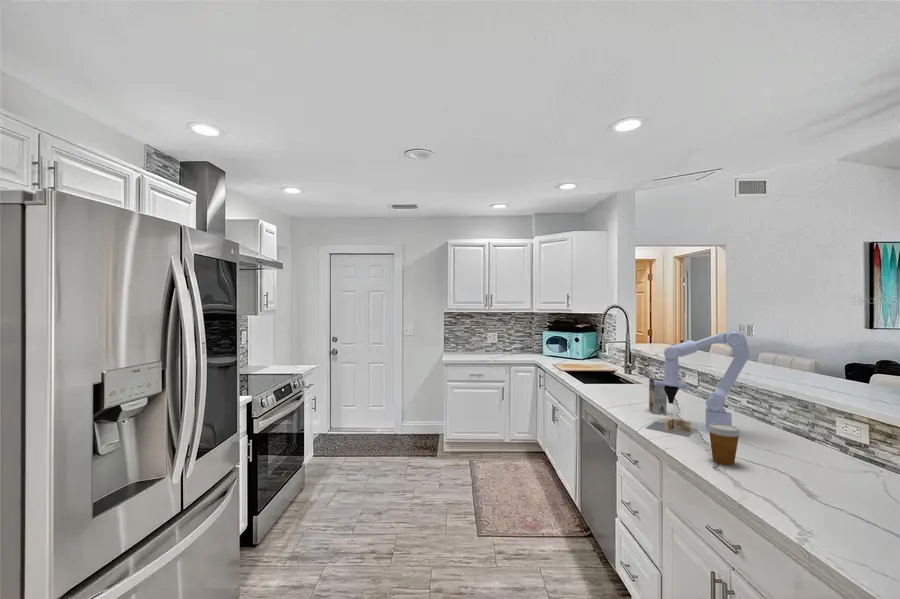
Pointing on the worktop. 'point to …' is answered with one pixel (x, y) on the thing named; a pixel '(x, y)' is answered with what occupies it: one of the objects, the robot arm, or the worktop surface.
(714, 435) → the disposable coffee cup
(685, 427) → the block
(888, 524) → the worktop surface
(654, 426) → the card
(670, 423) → the hinged panel
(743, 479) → the worktop surface
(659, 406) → the coffee box
